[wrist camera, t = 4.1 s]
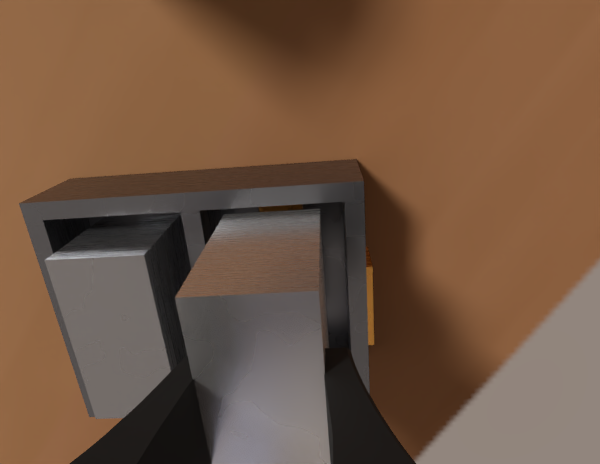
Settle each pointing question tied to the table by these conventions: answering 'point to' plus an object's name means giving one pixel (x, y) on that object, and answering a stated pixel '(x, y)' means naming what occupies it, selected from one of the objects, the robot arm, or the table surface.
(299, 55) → the table surface
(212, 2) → the table surface
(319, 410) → the grey block
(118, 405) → the rack
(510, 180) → the table surface
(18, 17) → the table surface
